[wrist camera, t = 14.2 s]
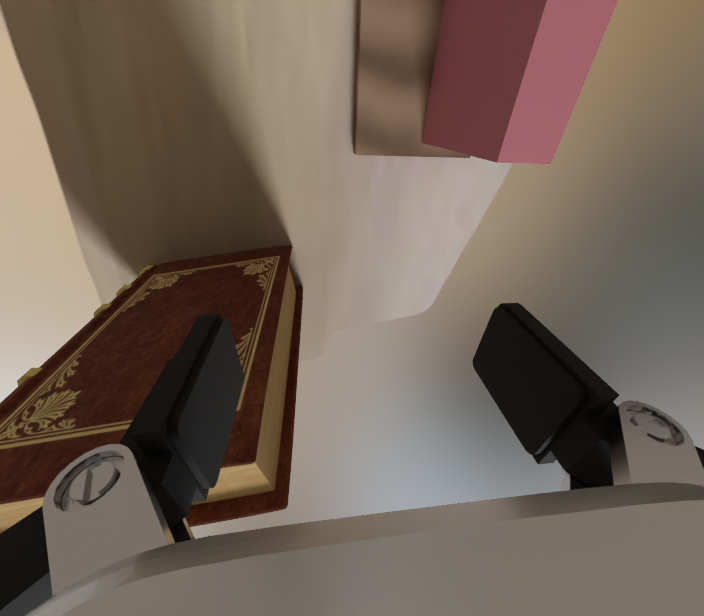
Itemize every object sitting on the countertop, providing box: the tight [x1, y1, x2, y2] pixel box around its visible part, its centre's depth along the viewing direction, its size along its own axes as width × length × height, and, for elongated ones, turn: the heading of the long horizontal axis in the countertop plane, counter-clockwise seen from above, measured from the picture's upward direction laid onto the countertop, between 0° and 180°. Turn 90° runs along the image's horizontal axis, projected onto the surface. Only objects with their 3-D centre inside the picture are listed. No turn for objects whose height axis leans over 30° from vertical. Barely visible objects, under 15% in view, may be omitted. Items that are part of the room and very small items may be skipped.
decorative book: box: [0, 246, 303, 534], centre depth 28 cm, size 22×8×30 cm, turn 96°
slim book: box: [422, 0, 618, 164], centre depth 21 cm, size 12×4×16 cm, turn 178°
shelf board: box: [354, 0, 470, 158], centre depth 28 cm, size 16×14×2 cm
